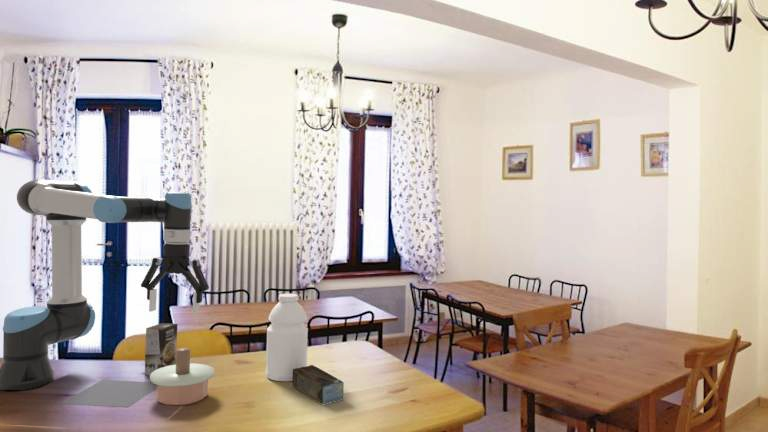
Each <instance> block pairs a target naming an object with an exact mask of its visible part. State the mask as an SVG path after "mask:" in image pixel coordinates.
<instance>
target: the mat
mask: <svg viewBox="0 0 768 432" xmlns="http://www.w3.org/2000/svg"><path fill="white" fill-rule="evenodd" d="M155 389H157V385H156V384H154V383H152V382H151V381H135V380H134V381H133V380H113V379H112V380H111V379H110V380H109V379H101V380H99V381H98V382H96V383H94V384H92V385H90V386H89V387H87V388H86V389H83V390H82V391H80V392H78V393H76V394H75V395H73V396H70V398H68V399H66V400H63V402H60V404H61V405H74V406H75V405H79V406H95V407H96V406H97V407H112V408H113V407H116V408H117V407H118V408H130V407H131V406H132V405H134V404H135V403H137V402H138V401H140V400H141V399H142V398H144V397H145V396H147V395H148V394H149V393H151V392H152V391H154V390H155Z"/></svg>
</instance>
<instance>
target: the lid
mask: <svg viewBox="0 0 768 432" xmlns="http://www.w3.org/2000/svg"><path fill="white" fill-rule="evenodd" d="M214 376H215V369H214V367H212V366H211V365H207V364H204V363H203V364H202V363H194V362H193V363H191V348H190V347H180V348H177V350H176V365H170V366H166V367H162V368H159V369H157V370H155V371H153V372H152V373H151V374H150V375H149V380H150V381H149V382H152V383H154V384H156V385H160V386H170V387H176V386H188V385H194V384H198V383H201V382H204V381H207V380H208V381H209V380H211V379H212V378H213V377H214Z"/></svg>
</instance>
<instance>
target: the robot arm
mask: <svg viewBox="0 0 768 432" xmlns="http://www.w3.org/2000/svg"><path fill="white" fill-rule="evenodd" d="M164 196H165V197H164V198H161V197H151V196H150V197H149V196H142V197H141V196H140V197H137V196H117V195H110V194H100V193H93V192H92V190H91V188H89V187H88V186H87V185H86V184H85V183H82V182H79V181H71V180H50V179H34V180H30V181H27V182H26V183H24V184H23V185H22V186H20V188H19V189H18V191H17V193H16V202H17V204H18V206H19V207H20V208H21V210H22V211H25V213H28V214H30V215H35V216H45V218H46V222H47V223H48V224H49V225H50V226H51V281H52V283H51V288H52V289H51V292H52V296H51V298H50V299H48V300H47V301H46V306H45V305H34V306H33V305H32V306H26V307H21V308H18V309H15V310H13V311H10V312H9V313H7V314H6V315H5V317H4V318H3V319H4V320H3V327H2V331H3V339H2V340H3V344H2V345H3V346H2V347H3V348H2V349H3V351H2V354H3V356H2V357H3V358H2V362H1V363H2V364H1V366H0V389H1V390H0V391H2V390H20V391H26V390H25V389H28V390H32V388H33V389H37V388H41V387H43V386H46V385H48V384H50V383H52V382H53V381H54V380H55V379H54V378H55V371H54V369H53V367H52V364H51V361H50V358H49V345H53V344H54V345H55V344H58V343H62V342H66V341H70V340H72V341H73V340H76V339H78V338H81V337H84V336H86V335H88V334H89V332H91V331H92V329H93V328H94V324H95V321H96V313H95V310H94V308H93V306H92V305H91V303H88V299H87V298H86V297H85V296H84V295H83V288H82V287H83V284H82V283H83V282H82V278H83V277H82V276H83V275H82V274H83V273H82V268H83V267H82V226H83V224H84V223H85V222H86V221H87V219H93V220H98V221H99V222H101V223H109V224H117V223H150V222H151V223H152V222H153V223H163V242H164V243H163V247H162V248H163V249H162V256H163V257H162V258H160V256H157V257H153V258H152V260H151V265H150V267H149V269H148V270H147V273H146V275H145V276H144V279H143V280H142V281H141V283H140V287H141V288H145V289H146V292H147V293H146V294H147V295H146V300H147V301H149V304H148V306H149V307H148V312H154V311H156V310H157V296H158V294H157V290H158V289H157V288H156V286H157V285H158V284H159V283H160V282H161V281H162V279H164V277H165V276H166V275H167V274H177V275H179V274H182V276H184V277H185V279H186V280H187V281H188V283H189V284H190V286H191V287H192V288H193V289H194V291H195V292H193V293H192V295H193V296H192V315H196V314H198V313H199V312H200V303H202V302H203V292H205V291H208V290H209V289H210V287H209V284H208V282H207V279H206V278H205V275H204V273H203V270H202V268H201V262H200V259H197V258H196V259H192V260H190V248H191V247H190V246H191V245H190V242H191V219H192V216H191V215H192V208H193V206H192V195H191V194H190V193H188V192H169V191H168V192H166V193H165V195H164ZM161 264H162V266H163V267H162V269H160V271H159V273H158V274H157V275H156V276H155V274H156V273H157V270H158V269H159V267H160V265H161ZM189 266H190V267H192V270H193V272H194V275H195V276H194V275H193V273H192V271H191V270H190V268H189ZM154 276H155V277H154Z"/></svg>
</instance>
